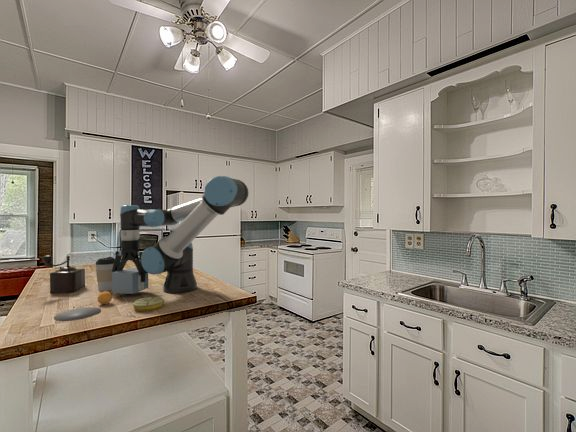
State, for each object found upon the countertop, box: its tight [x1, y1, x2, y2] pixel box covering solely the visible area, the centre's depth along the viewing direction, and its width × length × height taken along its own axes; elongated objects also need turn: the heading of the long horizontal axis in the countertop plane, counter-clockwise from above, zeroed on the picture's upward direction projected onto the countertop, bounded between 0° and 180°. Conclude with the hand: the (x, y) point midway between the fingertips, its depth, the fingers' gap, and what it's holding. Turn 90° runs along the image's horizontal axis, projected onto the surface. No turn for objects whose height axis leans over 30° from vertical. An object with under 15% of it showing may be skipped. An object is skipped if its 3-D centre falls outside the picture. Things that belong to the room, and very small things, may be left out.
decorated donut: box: [132, 296, 165, 313], centre depth 116 cm, size 10×11×4 cm
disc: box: [53, 306, 102, 322], centre depth 110 cm, size 14×14×1 cm
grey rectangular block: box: [111, 267, 149, 295], centre depth 136 cm, size 10×10×9 cm
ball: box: [97, 290, 113, 305], centre depth 121 cm, size 5×5×5 cm
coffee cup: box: [95, 256, 115, 292], centre depth 146 cm, size 9×9×15 cm
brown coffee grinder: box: [41, 254, 86, 294], centre depth 142 cm, size 16×11×18 cm
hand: (130, 288), depth 136 cm, fingers closed on grey rectangular block, 10 cm apart
